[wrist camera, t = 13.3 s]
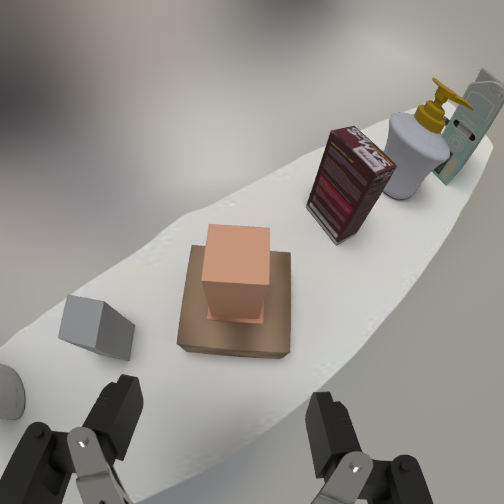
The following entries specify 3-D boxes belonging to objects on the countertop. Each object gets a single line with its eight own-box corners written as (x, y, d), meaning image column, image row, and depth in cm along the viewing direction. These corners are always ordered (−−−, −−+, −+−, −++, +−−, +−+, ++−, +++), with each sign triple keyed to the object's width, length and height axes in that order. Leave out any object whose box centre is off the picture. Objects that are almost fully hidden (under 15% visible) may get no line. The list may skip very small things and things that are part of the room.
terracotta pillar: (211, 316, 29) (201, 280, 20) (215, 273, 31) (208, 224, 22) (258, 319, 29) (269, 284, 20) (259, 276, 31) (269, 227, 23)
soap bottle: (406, 220, 45) (477, 120, 23) (354, 180, 49) (402, 68, 27) (423, 188, 50) (479, 102, 28) (378, 154, 54) (420, 62, 32)
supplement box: (356, 234, 43) (400, 166, 29) (335, 246, 41) (377, 175, 27) (325, 196, 46) (354, 124, 32) (303, 206, 45) (328, 129, 31)
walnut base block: (186, 351, 33) (176, 343, 27) (197, 266, 38) (191, 244, 33) (280, 358, 33) (290, 352, 27) (282, 272, 39) (290, 251, 33)
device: (443, 148, 60) (487, 69, 33) (462, 166, 57) (511, 89, 31) (423, 163, 54) (477, 66, 28) (446, 185, 52) (507, 91, 25)
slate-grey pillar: (97, 353, 31) (58, 338, 22) (103, 319, 33) (67, 294, 25) (129, 360, 31) (95, 348, 22) (134, 325, 34) (104, 301, 25)
